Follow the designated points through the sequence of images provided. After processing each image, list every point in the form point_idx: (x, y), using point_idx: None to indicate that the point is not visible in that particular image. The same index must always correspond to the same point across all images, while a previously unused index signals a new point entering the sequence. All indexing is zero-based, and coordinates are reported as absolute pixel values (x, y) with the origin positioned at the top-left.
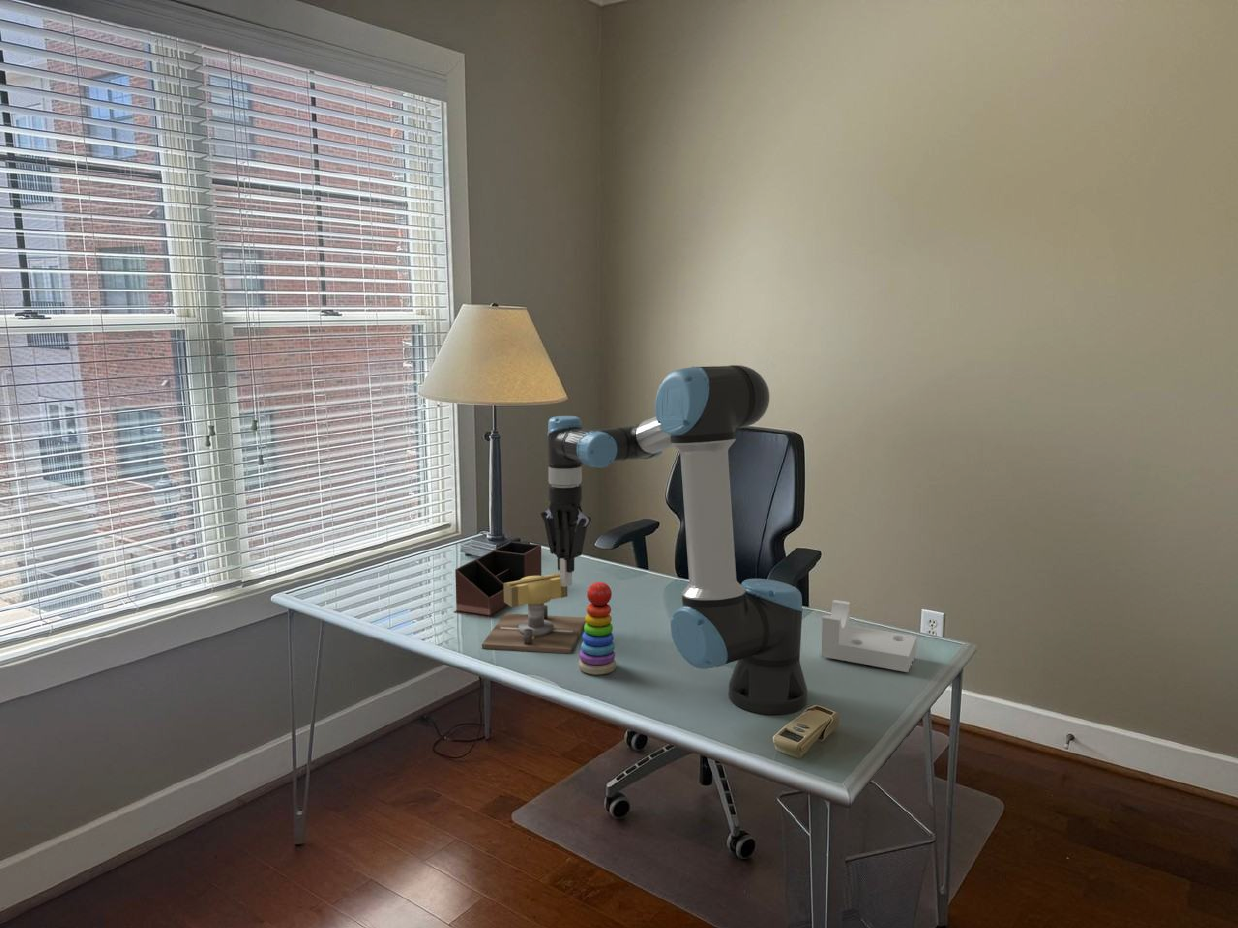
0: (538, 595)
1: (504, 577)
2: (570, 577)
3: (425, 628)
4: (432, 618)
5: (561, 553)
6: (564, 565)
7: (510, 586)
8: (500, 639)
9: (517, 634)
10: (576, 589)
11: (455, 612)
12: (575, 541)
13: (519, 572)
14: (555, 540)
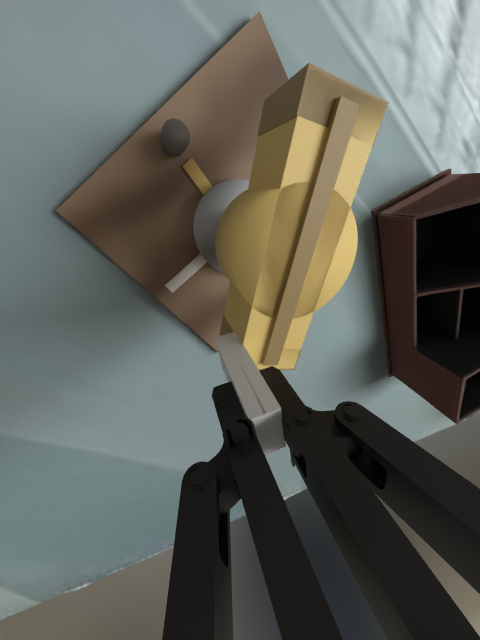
0: (229, 220)
1: (444, 318)
2: (228, 379)
3: (460, 21)
4: (472, 98)
5: (292, 437)
6: (240, 394)
7: (328, 82)
8: (249, 98)
9: (245, 168)
10: (337, 401)
11: (445, 170)
12: (193, 637)
13: (432, 348)
14: (394, 489)
